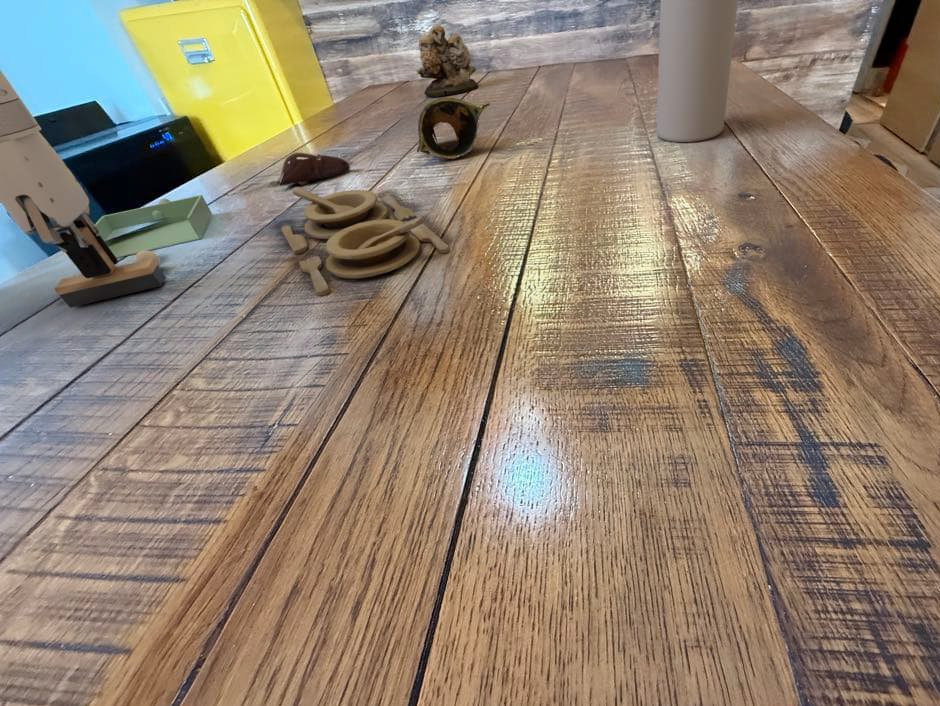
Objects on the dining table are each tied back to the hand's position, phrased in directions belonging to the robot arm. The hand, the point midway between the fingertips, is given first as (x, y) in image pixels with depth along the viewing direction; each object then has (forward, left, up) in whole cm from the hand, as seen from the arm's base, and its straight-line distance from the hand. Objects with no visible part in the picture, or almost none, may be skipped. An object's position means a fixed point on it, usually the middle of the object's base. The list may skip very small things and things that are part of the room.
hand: (102, 269), depth 71 cm
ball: (+6, +4, -2) cm, 7 cm away
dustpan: (+13, +22, -4) cm, 26 cm away
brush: (0, 0, -4) cm, 4 cm away
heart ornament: (+43, +18, -4) cm, 47 cm away
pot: (+66, +1, -4) cm, 66 cm away
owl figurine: (+110, +53, -4) cm, 122 cm away
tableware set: (+29, -19, -4) cm, 35 cm away
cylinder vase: (+92, -39, -4) cm, 100 cm away
